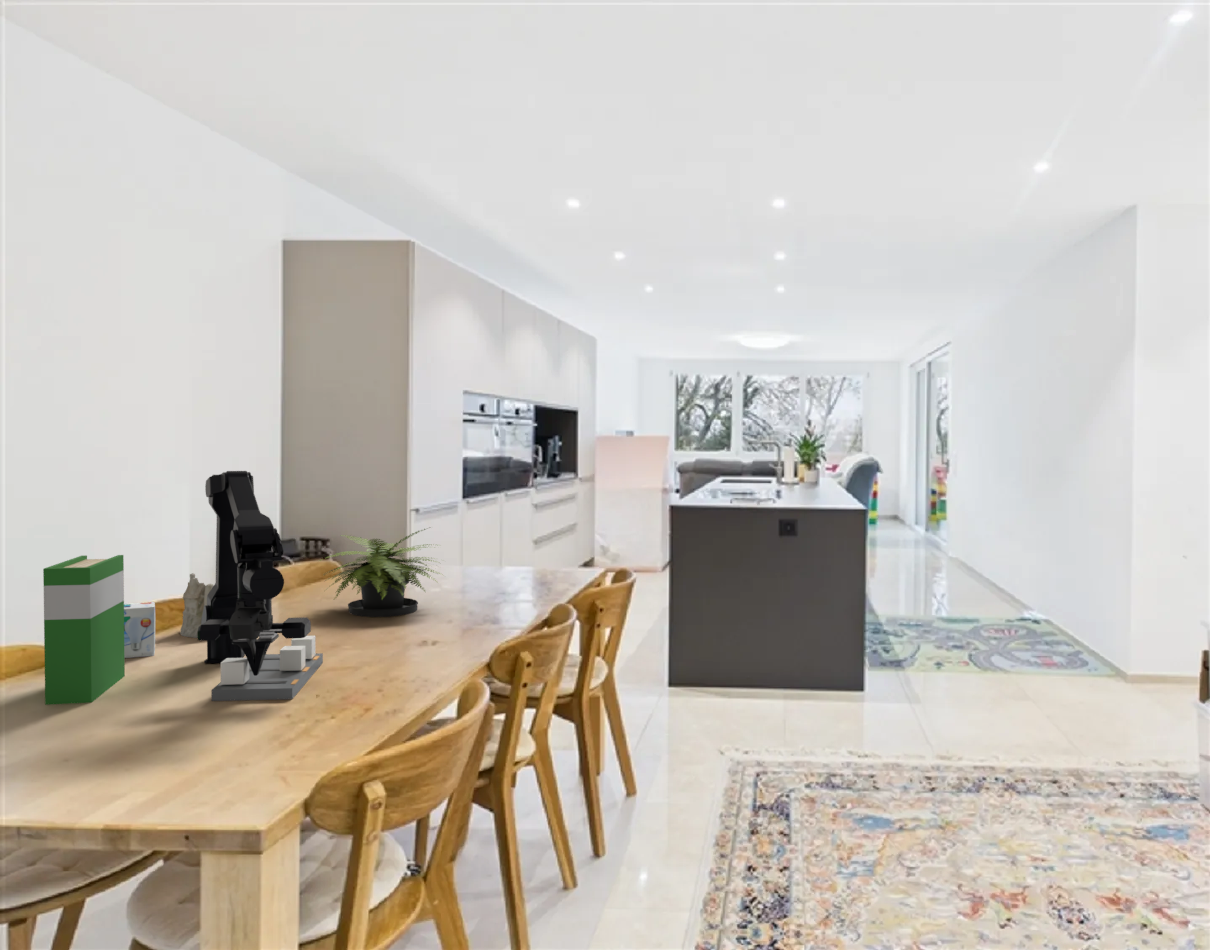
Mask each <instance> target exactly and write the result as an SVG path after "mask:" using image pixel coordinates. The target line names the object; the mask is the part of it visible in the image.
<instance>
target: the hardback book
mask: <svg viewBox="0 0 1210 950" xmlns="http://www.w3.org/2000/svg"><path fill="white" fill-rule="evenodd" d="M124 569H125V568H124V554H117V555H114V556H112V557H109V558H88V555H79V556H76V557H74V558H70V559H69V560H68V559H67V560H64V561H62V562H60V563H59V562H58V563H56V564H53V565H50V566H48V567H45V568H43V571H42V572H43V578H42V579H43V635H44V637H43V640H44V641H43V642H44V644H43V645H44V646H43V647H44V696H45V697H44V705H47V706H49V705H50V706H51V705H64V704H65V705H68V704H86V703H87V704H90V703H91V704H92V703H93V702H94V701H95V700H97V699H98V698H99V697H101V696H102V695H103V694H104V693H105V692H107V691H108V690H110V688H112V687H113V686H114V685H116V684H117V683H118V682H119V681H120V680H122V679H123V678H124V677H125V668H126V666H125V658H124V604H125V590H124V589H125V588H124V587H125V586H124V584H125V583H124V582H125V577H124V576H125V575H124Z"/></svg>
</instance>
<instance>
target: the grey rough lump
mask: <svg viewBox="0 0 1210 950" xmlns="http://www.w3.org/2000/svg"><path fill="white" fill-rule="evenodd" d="M214 585H215V584H213V583H207V584H205V583H204V582H199V579H198V577H196V573H194V572H193V573H189V582H188V581H187V587H186V590H185V591H184V593H183V595H182V600H183V601H184V602H183V604H184V610H183V611H182V624H181V627H180V632H179V634H180V635H181V636H182V637H188V638H197V639H198V633H197V631H198V628H199V626H200V625H201V619H202V614H203V610H204V606H205V605H207V595H208V594H209V592H210V591H211V589H212V588H213V586H214Z"/></svg>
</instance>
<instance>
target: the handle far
mask: <svg viewBox="0 0 1210 950" xmlns="http://www.w3.org/2000/svg"><path fill="white" fill-rule="evenodd" d="M290 641H291V642H290V643H291V645H290V646H305V659H312V658H313V657H314V656H315V654H316V635H307V636H306V637H304V638H291V639H290Z"/></svg>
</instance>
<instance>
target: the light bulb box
mask: <svg viewBox="0 0 1210 950" xmlns="http://www.w3.org/2000/svg"><path fill="white" fill-rule="evenodd" d="M155 651H156V603H155V602H154V601H147V602H133V603H129V602H128V603H124V659H129V658H141V657H154V656H155Z"/></svg>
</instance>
